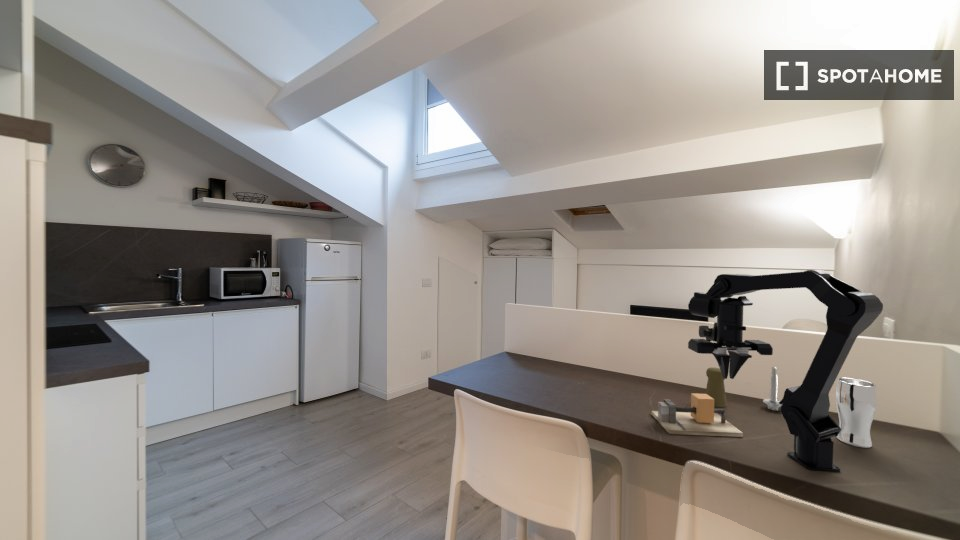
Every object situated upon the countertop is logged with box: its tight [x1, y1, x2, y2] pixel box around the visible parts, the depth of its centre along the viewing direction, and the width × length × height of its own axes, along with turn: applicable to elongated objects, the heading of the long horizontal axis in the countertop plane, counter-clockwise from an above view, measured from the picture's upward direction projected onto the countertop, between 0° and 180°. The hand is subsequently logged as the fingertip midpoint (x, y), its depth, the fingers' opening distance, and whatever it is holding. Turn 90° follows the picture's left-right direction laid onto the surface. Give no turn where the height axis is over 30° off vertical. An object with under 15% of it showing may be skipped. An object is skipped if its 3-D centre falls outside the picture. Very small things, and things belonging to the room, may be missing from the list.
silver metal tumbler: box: [835, 377, 877, 449], centre depth 90 cm, size 7×7×15 cm
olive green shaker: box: [704, 367, 728, 408], centre depth 114 cm, size 6×6×11 cm
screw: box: [762, 366, 782, 412], centre depth 110 cm, size 13×5×5 cm
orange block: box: [690, 392, 715, 423], centre depth 99 cm, size 4×4×6 cm
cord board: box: [650, 398, 744, 438], centre depth 99 cm, size 12×18×6 cm, turn 85°
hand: (728, 378), depth 98 cm, fingers closed
